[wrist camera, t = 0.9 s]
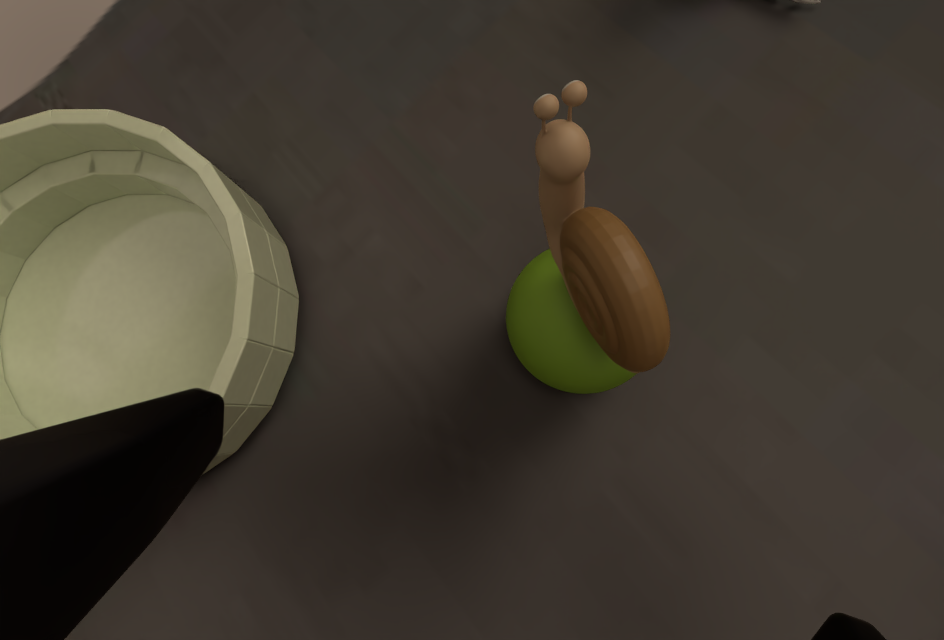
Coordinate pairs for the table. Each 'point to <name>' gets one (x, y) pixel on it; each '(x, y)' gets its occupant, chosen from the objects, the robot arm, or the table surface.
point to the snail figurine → (583, 276)
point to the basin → (133, 276)
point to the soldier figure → (807, 1)
